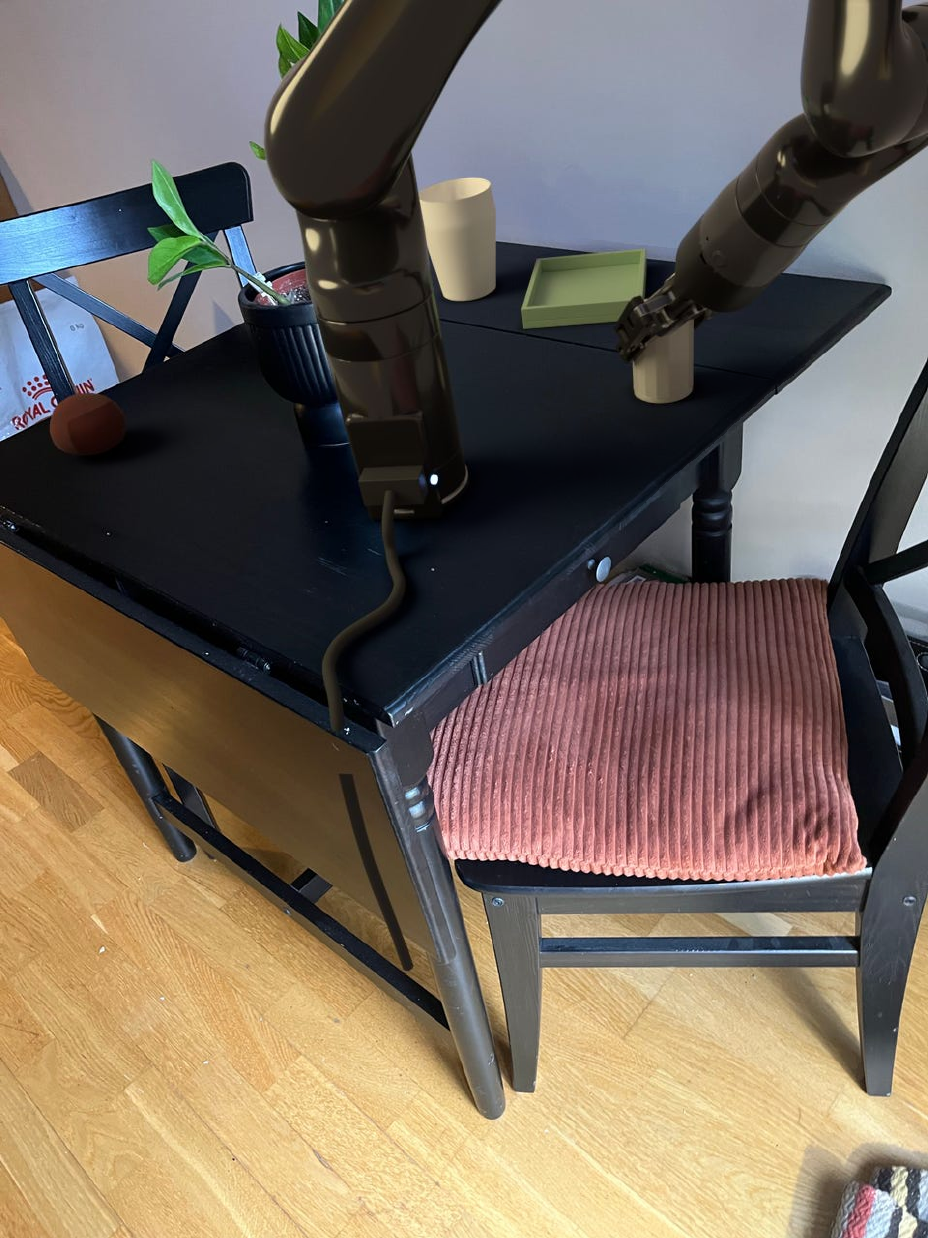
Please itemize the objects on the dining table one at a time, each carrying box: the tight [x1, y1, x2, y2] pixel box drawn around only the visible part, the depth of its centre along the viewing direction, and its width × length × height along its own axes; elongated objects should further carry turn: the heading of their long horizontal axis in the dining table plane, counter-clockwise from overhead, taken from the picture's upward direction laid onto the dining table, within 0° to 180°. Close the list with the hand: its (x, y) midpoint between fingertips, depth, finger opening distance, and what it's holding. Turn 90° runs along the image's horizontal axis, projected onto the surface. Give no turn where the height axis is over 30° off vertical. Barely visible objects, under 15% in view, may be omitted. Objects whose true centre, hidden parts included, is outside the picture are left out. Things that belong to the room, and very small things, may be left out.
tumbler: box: [632, 298, 695, 404], centre depth 85 cm, size 6×6×8 cm
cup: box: [418, 177, 497, 302], centre depth 110 cm, size 9×9×12 cm
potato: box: [49, 392, 127, 457], centre depth 95 cm, size 7×8×6 cm
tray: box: [520, 248, 648, 330], centre depth 106 cm, size 15×13×2 cm
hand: (650, 342), depth 86 cm, fingers closed on tumbler, 5 cm apart
